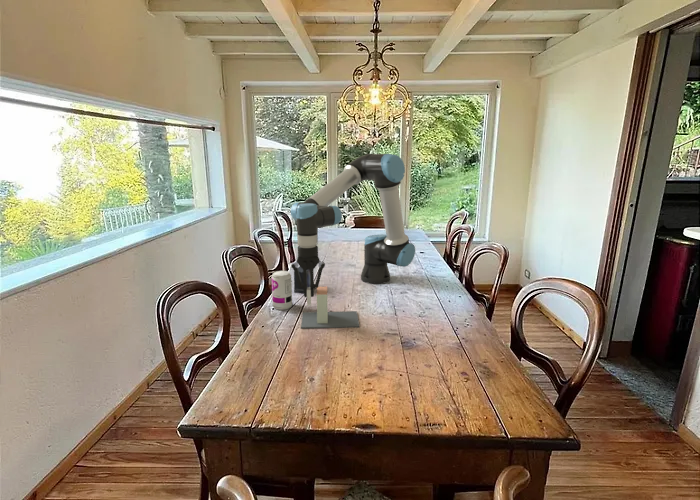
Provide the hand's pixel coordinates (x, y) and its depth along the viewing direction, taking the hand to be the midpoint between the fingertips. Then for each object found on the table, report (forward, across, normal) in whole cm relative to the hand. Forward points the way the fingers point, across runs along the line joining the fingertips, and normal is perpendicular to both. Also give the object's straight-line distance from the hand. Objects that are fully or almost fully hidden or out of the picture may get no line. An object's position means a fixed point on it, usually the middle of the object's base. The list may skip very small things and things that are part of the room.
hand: (309, 304), depth 156 cm
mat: (+7, -8, 0) cm, 11 cm away
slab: (+6, -5, 0) cm, 8 cm away
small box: (+7, +4, -36) cm, 37 cm away
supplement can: (+7, +12, -15) cm, 20 cm away
